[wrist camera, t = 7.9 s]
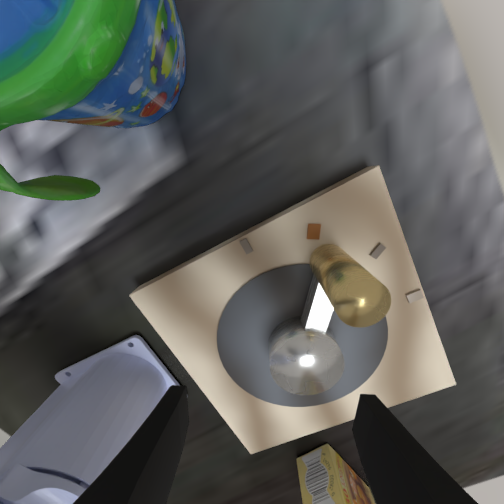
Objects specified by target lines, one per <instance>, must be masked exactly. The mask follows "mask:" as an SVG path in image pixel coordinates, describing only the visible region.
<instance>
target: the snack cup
mask: <svg viewBox="0 0 504 504" xmlns="http://www.w3.org/2000/svg"><path fill="white" fill-rule="evenodd" d="M185 75H186V55H185V38H184V33H183V29H182V25H181V22H180V19H179V16H178V13H177V9H176V5H175V0H0V131H1V130H2V129H4V128H7V127H9V126H11V125H14V124H20V123H25V122H30V121H34V120H48V121H58V122H67V123H76V124H84V125H94V126H106V127H111V126H113V127H116V128H131V127H139V126H146V125H149V124H151V123H154V122H156V121H157V120H159V119H160V118H161V117H162V116H164V115H165V114H166V113H168V112H170V111H171V110H172V109H173V107H174V106H175V104H176V103H177V101H178V96H179V94H180V91H181V88H182V87H183V85H184V81H185ZM0 190H3V191H9V192H14V193H16V194H19V195H24V196H28V197H33V198H40V199H47V200H79V199H85V198H89V197H93V196H95V195H96V194H98V193H99V192H100V187H99V185H97V184H96V183H95V182H93V181H91V180H87V179H83V178H77V177H71V176H59V175H54V176H48V177H40V178H36V179H32V180H28V181H24V182H20V183H17V182H16V181H15V180H14V179H13V177H12V176H11V175H10V174H9V173H8V172H7V171H6V170H5V168H4V167H3V166H2V165H1V164H0Z"/></svg>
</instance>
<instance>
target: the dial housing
mask: <svg viewBox="0 0 504 504" xmlns="http://www.w3.org/2000/svg"><path fill="white" fill-rule="evenodd" d="M324 244H335V245H337V246H339V247H340V248H342V249H343V250H344V251H345V252H346V253H347V254H349V255H350V256H351V257H352V258H353V259H354V260H356V261H357V262H358V263H359V264H360V265H361V266H363V267H364V268H365V269H366V270H367V271H368V272H370V273H371V274H372V275H373V276H374V277H375V278H376V279H378V280H379V281H380V282H381V283H382V284H383V285H385V286H386V287H387V289H388V290H389V292H390V295H391V306H390V309H389V311H388V313H387V314H386V315H385V317H384V318H383V319H382V320H380V321H379V322H377V323H376V324H374V325H371V326H368V327H352V326H349V325H347V324H345V323H344V322H342V321H341V320H340V318H339V317H338V315H337V313H336V312H335V310H334V309H333V312H332V315H331V318H330V321H329V324H328V327H329V328H330V330H331V331H332V333H333V335H334V337H335V339H336V342H337V344H338V346H339V348H340V350H341V352H342V354H343V357H344V361H345V367H344V372H343V374H342V376H341V378H340V380H339V381H338V382H337V383H336V384H335V385H334V386H333V387H331V388H330V389H328V390H326V391H324V392H322V393H319V394H314V395H297V394H293V393H290V392H287V391H285V390H284V389H282V388H281V387H279V386H278V385H277V384H276V382H275V381H274V380H273V378H272V375H271V372H270V361H269V338H270V336H271V334H272V332H273V330H274V329H275V328H276V327H277V326H278V325H279V324H280V323H282V322H284V321H286V320H288V319H290V318H294V317H300V316H302V313H303V309H304V306H305V302H306V299H307V295H308V292H309V288H310V285H311V281H312V278H313V275H314V273H313V272H312V270H311V268H310V263H309V261H310V257H311V254H312V253H313V251H314V250H315V249H316V248H318V247H319V246H321V245H324ZM129 296H130V297H131V299H132V300H133V301H134V303H135V304H136V305H137V306H138V308H139V309H140V310H141V312H142V313H143V314H144V316H145V317H146V318H147V320H148V321H149V322H150V323H151V325H152V326H153V327H154V329H155V330H156V331H157V333H158V334H159V335H160V336H161V338H162V339H163V340H164V342H165V343H166V344H167V346H168V347H169V348H170V349H171V351H172V352H173V353H174V355H175V356H176V357H177V359H178V360H179V361H180V363H181V364H182V365H183V366H184V368H185V369H186V370H187V372H188V373H189V374H190V376H191V377H192V378H193V379H194V381H195V382H196V383H197V385H198V386H199V387H200V389H201V390H202V391H203V392H204V394H205V395H206V396H207V398H208V399H209V400H210V402H211V403H212V404H213V406H214V407H215V408H216V409H217V411H218V412H219V413H220V415H221V416H222V417H223V419H224V420H225V421H226V422H227V424H228V425H229V426H230V428H231V429H232V430H233V432H234V433H235V434H236V436H237V437H238V438H239V439H240V441H241V442H242V443H243V445H244V446H245V447H246V449H247V450H248V451H249V452H250V454H253V453H256V452H259V451H262V450H265V449H268V448H271V447H274V446H277V445H279V444H282V443H285V442H288V441H291V440H294V439H297V438H300V437H303V436H306V435H309V434H312V433H315V432H318V431H321V430H324V429H327V428H330V427H332V426H335V425H338V424H341V423H344V422H347V421H350V420H353V419H355V415H356V410H357V406H358V402H359V397H360V394H375V395H376V396H377V397H378V398H379V399H380V400H381V401H382V403H383V404H384V405H385V406H386V407H387V408H388V407H391V406H394V405H397V404H400V403H403V402H406V401H409V400H412V399H415V398H418V397H421V396H424V395H427V394H430V393H433V392H435V391H438V390H441V389H444V388H447V387H450V386H453V385H456V383H455V380H454V377H453V374H452V371H451V368H450V366H449V363H448V360H447V357H446V354H445V351H444V349H443V346H442V343H441V340H440V337H439V334H438V332H437V329H436V326H435V323H434V320H433V317H432V314H431V312H430V309H429V306H428V303H427V300H426V297H425V295H424V292H423V289H422V286H421V283H420V280H419V278H418V275H417V272H416V269H415V266H414V263H413V261H412V258H411V255H410V252H409V249H408V246H407V244H406V241H405V238H404V235H403V232H402V229H401V227H400V224H399V221H398V218H397V215H396V212H395V210H394V207H393V204H392V201H391V198H390V195H389V193H388V190H387V187H386V184H385V181H384V178H383V175H382V173H381V170H380V167H379V166H369V167H366V168H364V169H362V170H360V171H358V172H357V173H355V174H353V175H351V176H349V177H347V178H345V179H343V180H341V181H339V182H337V183H336V184H334V185H332V186H330V187H328V188H326V189H324V190H322V191H320V192H318V193H316V194H314V195H313V196H311V197H309V198H307V199H305V200H303V201H301V202H299V203H297V204H295V205H293V206H292V207H290V208H288V209H286V210H284V211H282V212H280V213H278V214H276V215H274V216H272V217H270V218H269V219H267V220H265V221H263V222H261V223H259V224H257V225H255V226H253V227H251V228H249V229H248V230H246V231H244V232H242V233H240V234H238V235H236V236H234V237H232V238H230V239H228V240H226V241H225V242H223V243H221V244H219V245H217V246H215V247H213V248H211V249H209V250H207V251H205V252H204V253H202V254H200V255H198V256H196V257H194V258H192V259H190V260H188V261H186V262H184V263H182V264H181V265H179V266H177V267H175V268H173V269H171V270H169V271H167V272H165V273H163V274H161V275H160V276H158V277H156V278H154V279H152V280H150V281H148V282H146V283H144V284H142V285H140V286H139V287H138V288H136V289H135V290H134V291H133V292H132V293H131V294H130V295H129Z"/></svg>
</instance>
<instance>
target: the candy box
mask: <svg viewBox="0 0 504 504" xmlns="http://www.w3.org/2000/svg"><path fill="white" fill-rule="evenodd" d="M296 461H297V467H298V474H299V481H300V487H301V495H302V502H303V504H375V502H374V499H373V496H372V494H371V491H370V488H369V487H368V486H367V485H366V484H365V483H364V481H363V480H362V479H361V478H360V477H359V476H358V475H357V474H356V473H355V472H354V471H353V470H352V469H351V467H350V466H349V465H348V464H347V463H346V462H345V461H344V460H343V459H342V458H341V457H340V456H339V455H338V454H337V453H336V452H335V451H334V449H333V448H332V447H331V446H330V445H329V444H325V445H323V446H321V447H319V448H317V449H315V450H313V451H311V452H309V453H307V454H305V455H303V456H300V457H298V458H297V460H296Z"/></svg>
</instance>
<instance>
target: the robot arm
mask: <svg viewBox="0 0 504 504" xmlns="http://www.w3.org/2000/svg"><path fill="white" fill-rule="evenodd" d="M130 342H131V343H133V344H131V343H130ZM55 379H56V380H57V381H58V382H59V383H60V384H61V385H60V386H59V387H58V388H57V389H56V390H55V391H54V392H53V393H52V394H51V395H50V396H49V397H48V398H47V400H46V401H45V402H44V403H43V404H42V405H41V406H40V407H39V408H38V409H37V410H36V411H35V412H34V413H33V414H32V415H31V416H30V417H29V418H28V420H27V421H26V422H25V423H24V424H23V425H22V426H21V427H20V428H19V429H18V430H17V431H16V432H15V433H14V434H13V435H12V436H11V437H10V438H9V440H8V441H7V442H6V443H5V444H4V445H3V446H2V447H1V448H0V504H166V502H167V498H168V495H169V492H170V489H171V486H172V483H173V480H174V477H175V473H176V470H177V467H178V464H179V461H180V457H181V454H182V451H183V446H184V442H185V438H186V433H187V428H188V424H189V416H188V401H187V397H188V395H187V387H186V386H180V385H179V383H178V382H177V381H176V380H175V378H174V377H173V376H172V375H171V373H170V372H169V371H168V370H167V368H166V367H165V366H164V365H163V363H162V362H161V361H160V360H159V358H158V357H157V356H156V355H155V353H154V352H153V351H152V350H151V348H150V347H149V346H148V345H147V343H146V342H145V341H144V340H143V338H142V337H141V336H139V335H134V336H132V337H130V338H128V339H126V340H123V341H121V342H119V343H117V344H115V345H113V346H111V347H109V348H107V349H105V350H103V351H101V352H99V353H96V354H94V355H92V356H90V357H88V358H86V359H84V360H82V361H80V362H78V363H76V364H74V365H72V366H69V367H67V368H65V369H63V370H61V371H59V372H58V373H57V374H56V375H55ZM352 431H353V435H354V438H355V442H356V446H357V449H358V453H359V456H360V460H361V463H362V466H363V468H364V471H365V474H366V476H367V479H368V482H369V484H370V487H371V489H372V492H373V495H374V497H375V500H376V503H377V504H478V503H477V502H476V501H475V500H474V499H473V498H472V497H471V496H470V495H469V494H468V493H466V492H465V490H464V489H463V488H462V487H461V486H460V485H459V484H458V483H457V482H456V481H455V480H454V479H453V478H452V477H451V476H450V475H449V474H448V473H447V472H446V471H445V470H444V469H443V468H442V467H441V466H440V465H439V464H438V463H437V462H436V461H435V460H434V459H433V458H432V457H431V456H430V455H429V453H428V452H427V451H426V450H425V449H424V448H423V447H422V446H421V445H420V444H419V443H418V442H417V441H416V439H415V438H414V437H413V436H412V435H411V434H410V433H409V432H408V431H407V430H406V428H405V427H404V426H403V425H402V424H401V423H400V422H399V421H398V419H397V418H396V417H395V416H394V415H393V414H392V413H391V412H390V410H389V409H388V408H387V407H386V406H385V405H384V404H383V403H382V401H381V400H380V399H379V398H378V397H377V396H376V395H375V394H360V397H359V402H358V406H357V410H356V415H355V419H354V424H353V428H352Z"/></svg>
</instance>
